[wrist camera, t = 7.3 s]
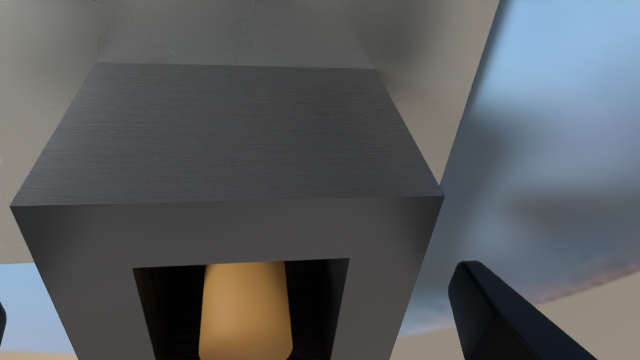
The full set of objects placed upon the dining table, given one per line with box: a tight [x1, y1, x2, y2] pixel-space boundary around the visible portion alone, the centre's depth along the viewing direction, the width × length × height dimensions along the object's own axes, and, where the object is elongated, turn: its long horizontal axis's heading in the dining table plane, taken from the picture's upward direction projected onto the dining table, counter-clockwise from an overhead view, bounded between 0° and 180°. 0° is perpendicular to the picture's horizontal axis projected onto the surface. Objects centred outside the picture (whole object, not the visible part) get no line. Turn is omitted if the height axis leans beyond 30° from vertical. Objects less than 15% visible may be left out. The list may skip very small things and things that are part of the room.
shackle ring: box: [9, 62, 445, 360], centre depth 10 cm, size 6×6×4 cm
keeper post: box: [199, 261, 293, 360], centre depth 10 cm, size 2×2×5 cm
